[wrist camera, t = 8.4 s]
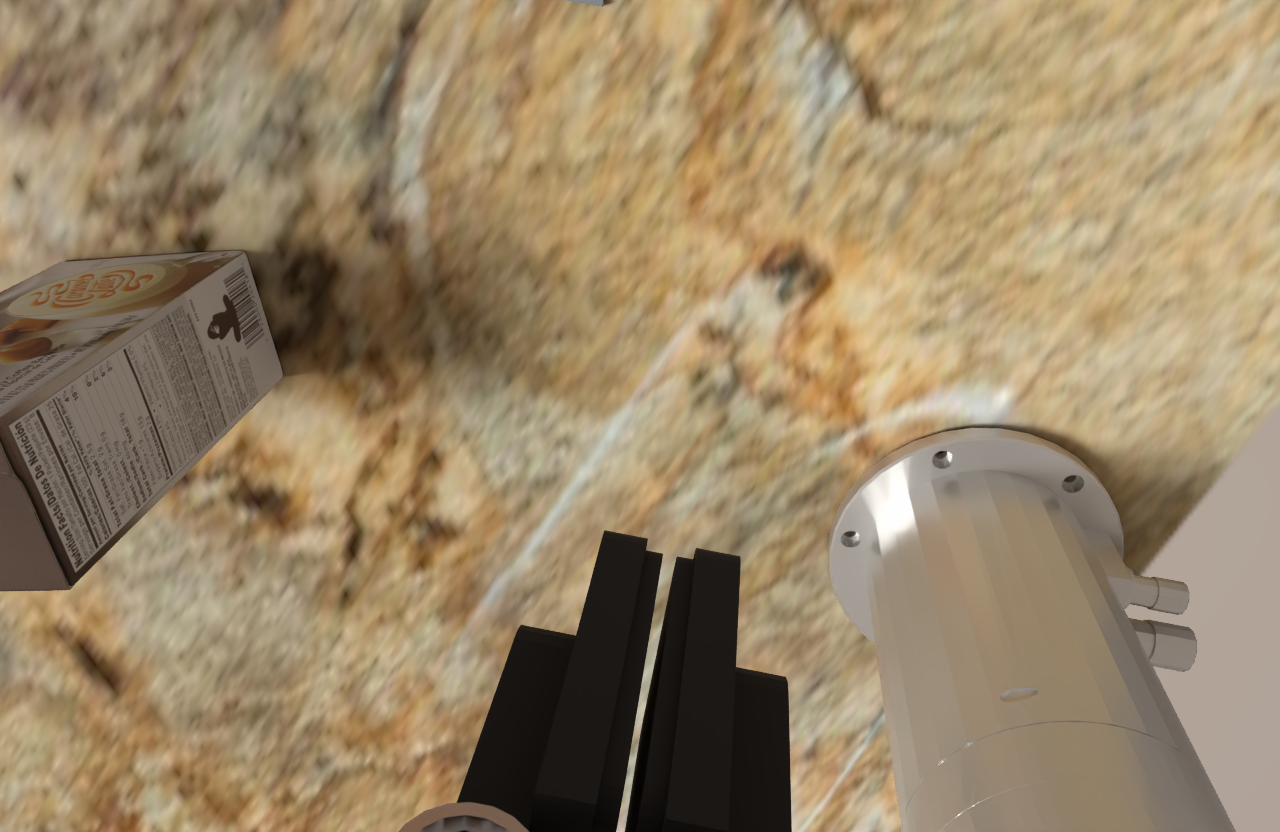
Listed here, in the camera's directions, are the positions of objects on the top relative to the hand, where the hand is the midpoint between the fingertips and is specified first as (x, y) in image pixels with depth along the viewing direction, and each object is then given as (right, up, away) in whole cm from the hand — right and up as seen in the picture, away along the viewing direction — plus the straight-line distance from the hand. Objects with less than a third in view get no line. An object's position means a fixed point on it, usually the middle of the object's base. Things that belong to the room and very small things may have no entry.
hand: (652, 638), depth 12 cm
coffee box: (-21, +7, +32) cm, 39 cm away
